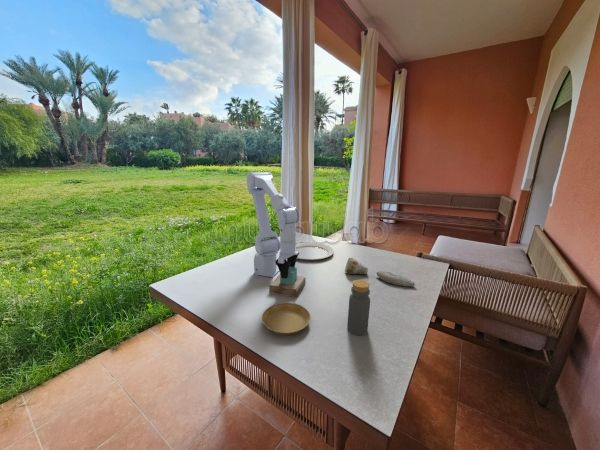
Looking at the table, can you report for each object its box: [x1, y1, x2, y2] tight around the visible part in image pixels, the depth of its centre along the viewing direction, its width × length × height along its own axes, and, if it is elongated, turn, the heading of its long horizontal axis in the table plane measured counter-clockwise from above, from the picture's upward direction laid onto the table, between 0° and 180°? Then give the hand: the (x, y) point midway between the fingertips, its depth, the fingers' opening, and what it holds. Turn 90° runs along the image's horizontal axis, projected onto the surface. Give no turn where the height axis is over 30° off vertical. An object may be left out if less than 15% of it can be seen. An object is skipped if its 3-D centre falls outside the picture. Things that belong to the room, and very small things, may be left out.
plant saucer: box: [261, 302, 311, 336], centre depth 75 cm, size 15×15×3 cm
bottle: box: [346, 279, 371, 336], centre depth 70 cm, size 6×6×15 cm
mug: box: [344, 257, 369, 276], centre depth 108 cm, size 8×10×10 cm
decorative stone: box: [376, 270, 416, 288], centre depth 101 cm, size 6×16×3 cm, turn 55°
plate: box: [296, 242, 334, 261], centre depth 132 cm, size 26×26×2 cm
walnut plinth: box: [268, 274, 307, 298], centre depth 95 cm, size 11×11×3 cm
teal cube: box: [279, 266, 298, 285], centre depth 94 cm, size 5×5×5 cm
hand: (287, 273), depth 94 cm, fingers open, 7 cm apart
